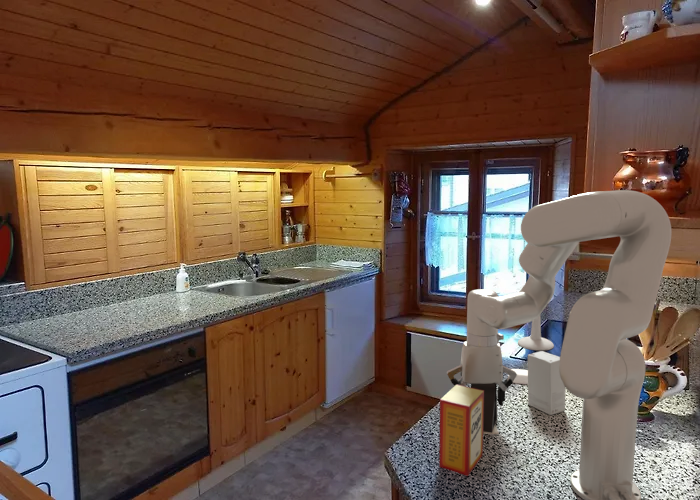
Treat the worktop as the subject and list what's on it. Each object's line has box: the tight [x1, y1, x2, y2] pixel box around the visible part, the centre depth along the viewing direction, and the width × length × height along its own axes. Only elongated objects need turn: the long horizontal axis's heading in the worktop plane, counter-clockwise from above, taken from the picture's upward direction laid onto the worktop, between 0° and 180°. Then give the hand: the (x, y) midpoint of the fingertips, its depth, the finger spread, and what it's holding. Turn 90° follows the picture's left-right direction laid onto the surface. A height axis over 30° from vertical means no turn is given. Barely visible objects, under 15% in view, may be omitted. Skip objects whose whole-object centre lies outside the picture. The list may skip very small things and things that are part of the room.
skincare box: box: [527, 350, 566, 416], centre depth 135 cm, size 8×6×15 cm
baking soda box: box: [438, 384, 484, 477], centre depth 110 cm, size 10×6×16 cm
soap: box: [507, 368, 528, 385], centre depth 155 cm, size 9×7×3 cm
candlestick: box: [517, 314, 555, 352], centre depth 186 cm, size 13×13×30 cm
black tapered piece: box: [470, 383, 498, 433], centre depth 126 cm, size 9×6×12 cm, turn 154°
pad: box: [483, 425, 499, 435], centre depth 127 cm, size 10×7×1 cm
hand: (480, 403), depth 127 cm, fingers open, 9 cm apart
